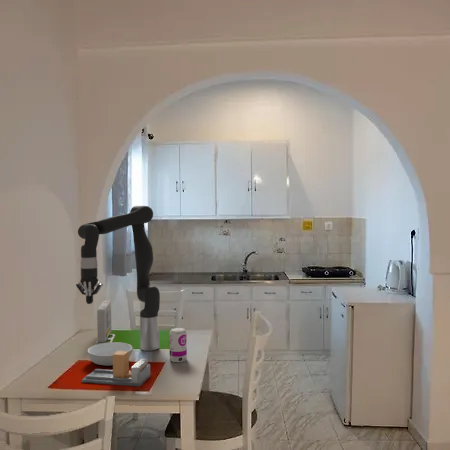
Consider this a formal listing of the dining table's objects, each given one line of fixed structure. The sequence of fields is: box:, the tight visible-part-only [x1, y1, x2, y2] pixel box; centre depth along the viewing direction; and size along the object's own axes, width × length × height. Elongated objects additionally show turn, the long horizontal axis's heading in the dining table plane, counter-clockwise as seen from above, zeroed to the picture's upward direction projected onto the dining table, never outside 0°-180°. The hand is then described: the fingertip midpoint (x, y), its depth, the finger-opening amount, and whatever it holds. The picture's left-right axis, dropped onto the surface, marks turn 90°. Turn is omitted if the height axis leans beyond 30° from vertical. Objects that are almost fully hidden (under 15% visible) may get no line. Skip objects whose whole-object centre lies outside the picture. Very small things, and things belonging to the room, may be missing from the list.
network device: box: [94, 300, 116, 345], centre depth 253 cm, size 26×9×20 cm, turn 6°
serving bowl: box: [87, 341, 133, 367], centre depth 215 cm, size 21×21×7 cm
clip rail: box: [81, 358, 151, 387], centre depth 193 cm, size 26×12×8 cm, turn 79°
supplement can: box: [168, 327, 188, 363], centre depth 217 cm, size 8×8×15 cm
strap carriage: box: [112, 351, 131, 378], centre depth 192 cm, size 12×5×10 cm, turn 79°
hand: (89, 303), depth 211 cm, fingers closed
